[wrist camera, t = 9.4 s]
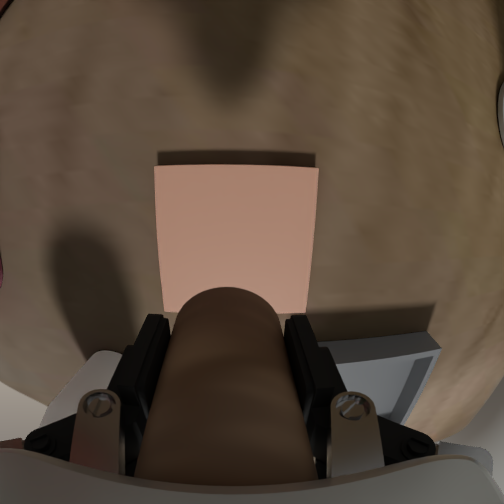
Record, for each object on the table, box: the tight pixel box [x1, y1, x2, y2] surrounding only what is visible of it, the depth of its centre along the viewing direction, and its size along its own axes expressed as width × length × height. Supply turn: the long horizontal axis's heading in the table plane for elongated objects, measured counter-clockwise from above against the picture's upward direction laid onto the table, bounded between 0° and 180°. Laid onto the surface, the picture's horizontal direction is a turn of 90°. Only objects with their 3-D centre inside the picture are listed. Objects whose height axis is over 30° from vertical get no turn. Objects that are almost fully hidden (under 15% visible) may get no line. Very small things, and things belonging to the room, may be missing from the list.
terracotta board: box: [154, 164, 319, 313], centre depth 23 cm, size 12×12×1 cm
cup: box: [39, 350, 122, 428], centre depth 22 cm, size 9×9×12 cm
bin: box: [317, 331, 442, 426], centre depth 28 cm, size 16×16×4 cm
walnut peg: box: [134, 287, 319, 486], centre depth 8 cm, size 4×4×8 cm
